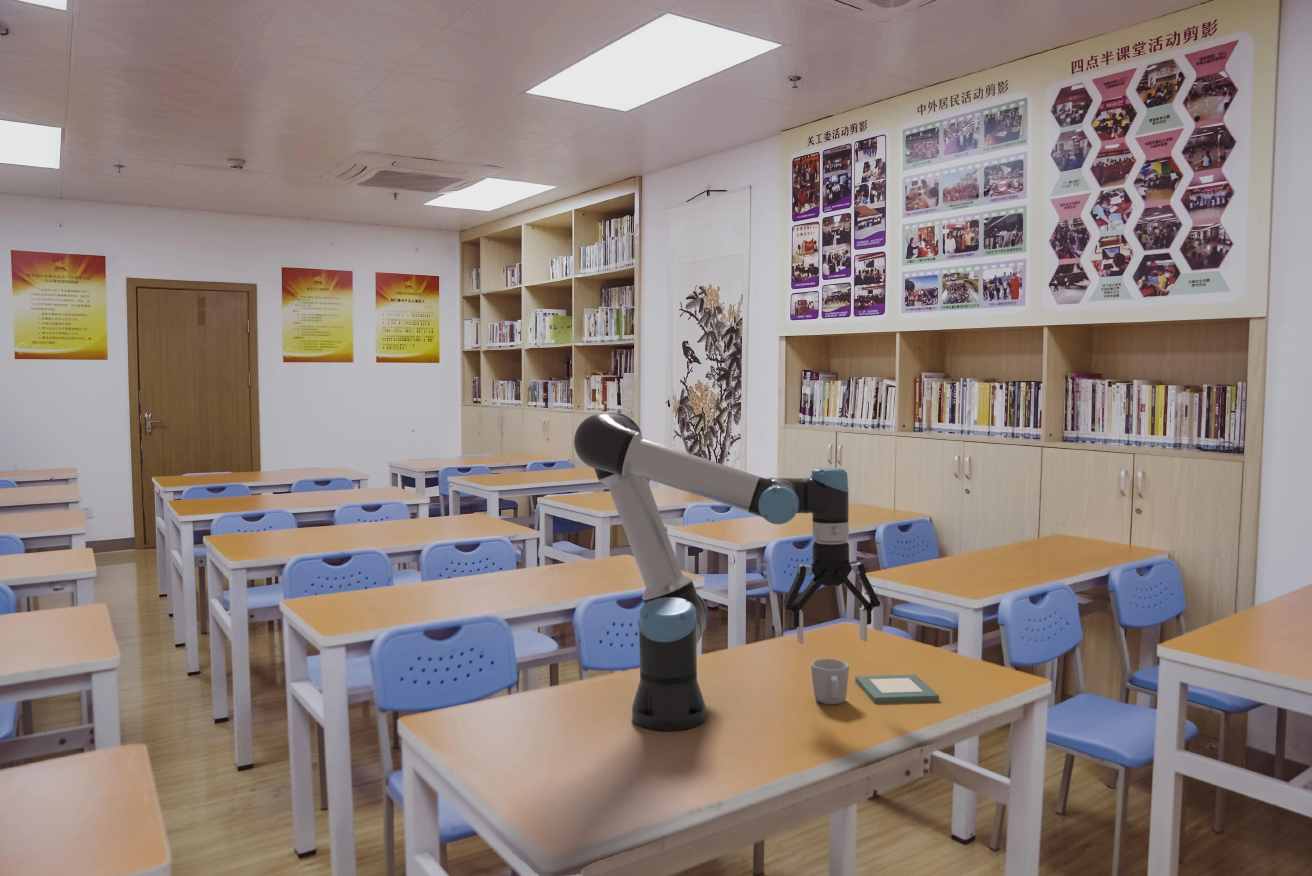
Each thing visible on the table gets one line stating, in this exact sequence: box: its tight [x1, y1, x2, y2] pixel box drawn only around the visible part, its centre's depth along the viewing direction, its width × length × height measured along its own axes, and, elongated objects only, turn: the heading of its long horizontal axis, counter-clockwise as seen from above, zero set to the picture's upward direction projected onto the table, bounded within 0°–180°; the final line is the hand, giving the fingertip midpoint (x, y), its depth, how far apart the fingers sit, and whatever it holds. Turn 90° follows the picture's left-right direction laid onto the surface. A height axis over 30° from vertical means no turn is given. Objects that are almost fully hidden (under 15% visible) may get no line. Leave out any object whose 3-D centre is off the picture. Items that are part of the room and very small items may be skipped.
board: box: [855, 674, 940, 704], centre depth 189 cm, size 14×14×1 cm
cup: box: [810, 658, 850, 705], centre depth 182 cm, size 11×8×8 cm
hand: (832, 640), depth 182 cm, fingers open, 13 cm apart
